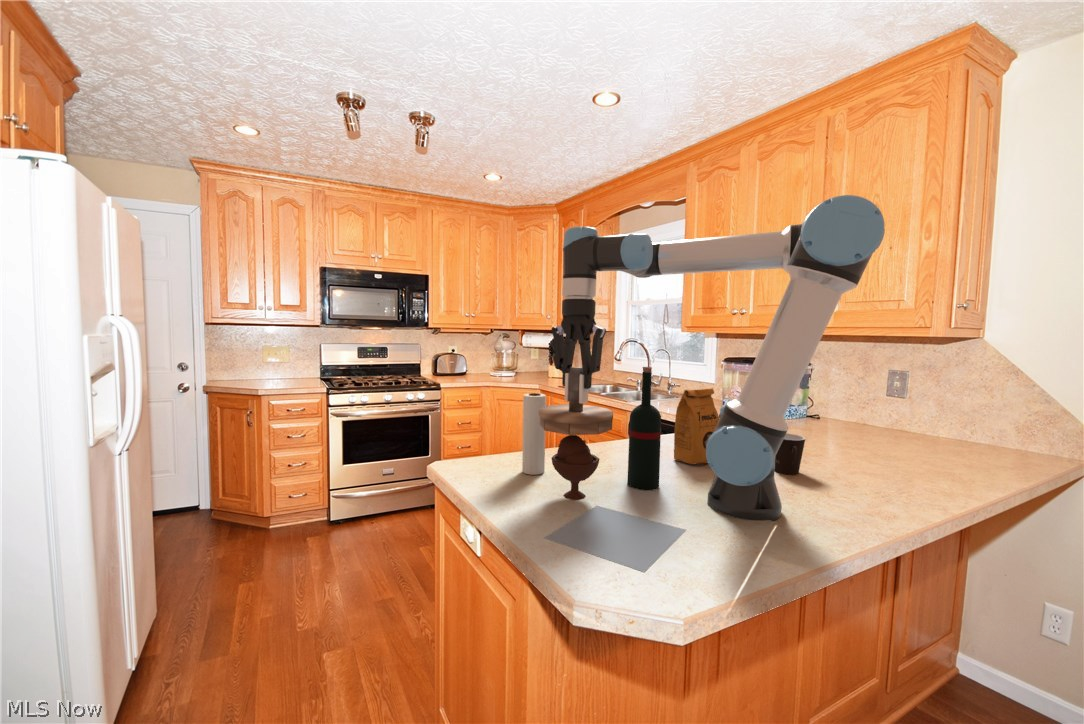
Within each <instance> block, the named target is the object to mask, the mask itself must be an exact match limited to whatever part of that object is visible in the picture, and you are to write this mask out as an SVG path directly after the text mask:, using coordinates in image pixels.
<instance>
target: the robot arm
mask: <svg viewBox="0 0 1084 724" xmlns="http://www.w3.org/2000/svg"><path fill="white" fill-rule="evenodd" d="M885 225H886V224H885V219H884V215H883V214H882V212H881V210H880V209H879V207H878V206H877V205H876V204H875V203H874V202H872V201H871V200H869V199H867V198H865V197H862V196H859V195H854V194H845V195H837V196H833V197H830V198H829V199H826V200H824V201H821V203H819V204H818V205H816V206H815V207H814V208H813V209H812V210H811V211H810V212H809V213H808V214H807V215H806V217H805V218H804V220H803V222H802V223H801V224H790V225H789V226H787V227H786V228H785V229H784V230H780V231H779V230H778V231H769V232H759V233H757V232H756V233H747V234H737V235H736V234H735V235H726V236H725V235H724V236H714V237H713V236H712V237H701V238H694V239H693V238H692V239H691V238H690V239H679V240H672V241H671V240H669V241H661V242H653V240H652V239H651V236H650V235H649V234H648V233H635V232H631V233H627V234H615V235H614V234H613V235H601V236H600V235H598V230H597V228H595V227H591V226H574V227H569V228H567V229H566V230H565V232H564V234H563V235H564V236H563V237H564V238H563V247H562V255H563V256H562V257H563V258H562V261H563V263H562V264H563V265H562V268H563V270H562V273H563V274H562V289H561V291H562V292H561V296H562V297H563V298H564V299H562V301H561V315H562V320H561V322H560V325H557V326H552V327H551V330H550V331H551V333H552V336H553V349H554V353H553V354H554V368H555V369H556V370H558V371H561V373H562V383H561V385H562V386H563V387H564V402H567V403H569V386H570V367H573V363H574V358H575V357H574V356H575V351H576V344H577V343H578V345H579V348H580V349H579V350H580V356H581V357H580V358H581V367H582V369H583V372H581V374H580V383H579V403H580V404H583V405H584V404H586V403H588V402H589V389H591V388H592V381H593V379H592V377H593V376H592V375H593V374H594V373H597V372H600V371H601V364H602V355H603V344H604V337H605V336H606V333H607V329H606V328H604V327H600V326H598V325H597V323H596V319H595V316H596V305H597V304H596V303H597V302H596V300H595V299H594V298H596V295H597V293H596V291H597V272H623V273H626V274H628V275H629V274H630V275H631V276H634V277H635V278H640V279H641V278H642V279H643V278H650V277H652V276H662V275H663V276H665V275H666V276H667V275H681V274H683V275H684V274H685V275H686V274H700V273H704V274H705V273H718V272H719V273H720V272H734V271H735V272H739V271H760V270H778V269H779V270H780V269H782V270H784V271H785V272H786V273H787V274H788V275H789V277H790V280H789V281H788V285H787V287H786V289H785V291H784V294H783V295H782V298H781V301H780V302H779V305H778V306H777V309H776V311H775V314H774V316H773V318H772V321H771V323H770V325H769V327H768V329H767V332H766V334H765V336H764V339H763V341H762V343H761V346H760V348H759V350H758V352H757V354H756V357H755V359H754V361H753V363H752V366H751V367H750V370H749V372H748V375H747V377H746V379H745V380H744V383H743V386H742V388H741V390H740V393H739V395H738V397H737V398H735V399H732V400H729V401H727V402H726V404H724V405H722V406H720V409H719V414H718V416H719V421H718V424H717V426H716V428H715V430H714V432H713V433H712V435H711V436H710V437H709V439H708V441H707V444H706V458H707V461H708V463H707V464H708V466H709V468H710V470H711V471H712V472H713V473H714V474H715V475H714V477H713V480H712V481H711V484H710V485H711V486H709V490H708V493H707V505H708V507H710V508H711V509H712V510H714V511H716V512H719V513H720V514H723V515H726V516H729V517H732V518H736V519H741V520H746V521H747V520H749V521H760V522H761V521H775V520H778V519H779V518H781V516H782V502H781V498H780V494H779V491H778V488H777V484H776V480H775V456H776V454H777V452H778V450H779V447H780V445H781V443H782V441H783V439H784V437H785V435H786V433H787V432H788V430H789V426H788V424H787V422H786V420H785V416H786V414H787V412H788V409H789V407H790V405H791V403H792V401H793V399H794V396H795V395H796V393H797V391H798V388H799V386H800V384H801V382H802V380H803V378H804V375H805V373H806V371H807V368H808V367H809V365H810V363H811V361H812V358H813V356H814V355H815V353H816V350H817V348H818V346H819V344H820V342H821V340H822V338H823V337H824V336H823V335H824V334H825V331H826V329H827V326H828V325H829V322H830V320H831V319H832V317H833V315H834V313H835V311H836V308H837V305H838V303H839V302H840V299H841V298H842V296H843V294H845V293H847V292H849V291H851V290H854V289H856V288H857V286H858V285H859V283H860V281H861V278H862V276H863V275H864V272H865V270H866V268H867V267H868V264H869V262H870V259H871V258H872V256H873V254H874V253H875V252H876V250H878V248H879V247H880V245H881V244H882V242H883V239H884V236H885V230H886V229H885ZM564 334H565V337H564ZM591 335H593V337H592V339H591ZM591 340H592V345H591Z"/></svg>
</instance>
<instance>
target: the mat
mask: <svg viewBox="0 0 1084 724" xmlns="http://www.w3.org/2000/svg"><path fill="white" fill-rule="evenodd" d="M686 531H687V529H684V528H680V527H679V526H678V527H677V526H673V525H670V524H667V523H663V522H659V521H656V520H651V519H648V518H644V517H641V516H637V515H634V514H633V515H632V514H630V513H626V512H622V511H619V510H615V509H611V508H608V507H605V506H604V507H603V506H600V505H595V506H594V507H592V508H590V509H588V510H587V511H586V512H584V513H582V514H580V515H579V516H577V517H575V518H574V519H572V520H571V521H569V522H568V523H566V524H564V525H562V526H561V527H560V528H558V529H556V530H554V531H553V532H551V533H549V534H548V535H546V536H544V538H543V539H546V540H548V541H551V542H554V543H557V544H560V545H563V546H566V547H569V548H572V549H575V550H578V551H581V552H583V553H587V554H589V555H592V556H595V557H597V558H601V559H604V560H606V561H609V562H613V563H616V564H619V565H622V566H624V567H628V568H630V569H633V570H635V571H639V572H642V573H646V571H648V570H649V568H650V567H652V565H653V564H654V563H655V562H657V560H658V559H659V558H661V556H662V555H663V554H664V553H665V552H667V551H668V549H669V548H670V547H671V546H672V545H673V544H674V543H675V542H677V540H678V539H679V538H680V537H681V536H682V535H683V534H684V533H685V532H686Z"/></svg>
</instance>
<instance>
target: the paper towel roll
mask: <svg viewBox="0 0 1084 724" xmlns="http://www.w3.org/2000/svg"><path fill="white" fill-rule="evenodd" d="M546 399H547V395H546V394H544V393H540V392H536V393H535V392H534V393H533V392H531V393H524V394H523V400H522V403H523V404H522V405H523V406H522V407H523V409H522V464H521V465H522V467H521V468H522V473H524V474H527V475H533V476H534V475H535V476H537V475H541V474H543V473H545V468H546V465H545V464H546V461H545V460H546V431H545V430H544V429H543V428H542V427H541V425H540V417H539V409H540V408H542V407H546V406H547V404H546V403H547V400H546Z"/></svg>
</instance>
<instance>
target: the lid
mask: <svg viewBox="0 0 1084 724" xmlns="http://www.w3.org/2000/svg"><path fill="white" fill-rule="evenodd" d="M581 372H583V369H582V366H572V367H570V386H569V402H568V404H555V405H546V407H542V408H540V409H539V417H540V425H541V427H542V428H543V429H544V430H545V432H550V433H554V434H555V433H557V434H561V435H565V436H569V435H576V436H585V435H587V436H588V435H589V436H590V435H591V436H592V435H600V434H604V433H606V432H607V433H608V431H609V432H610V431H612V430H613V420H614V411H613V410H611V409H609V408H606V407H601V406H596V405H588V404H587V405H586V404H584V403H583V404H580V403H579V383H580V374H581Z"/></svg>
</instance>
